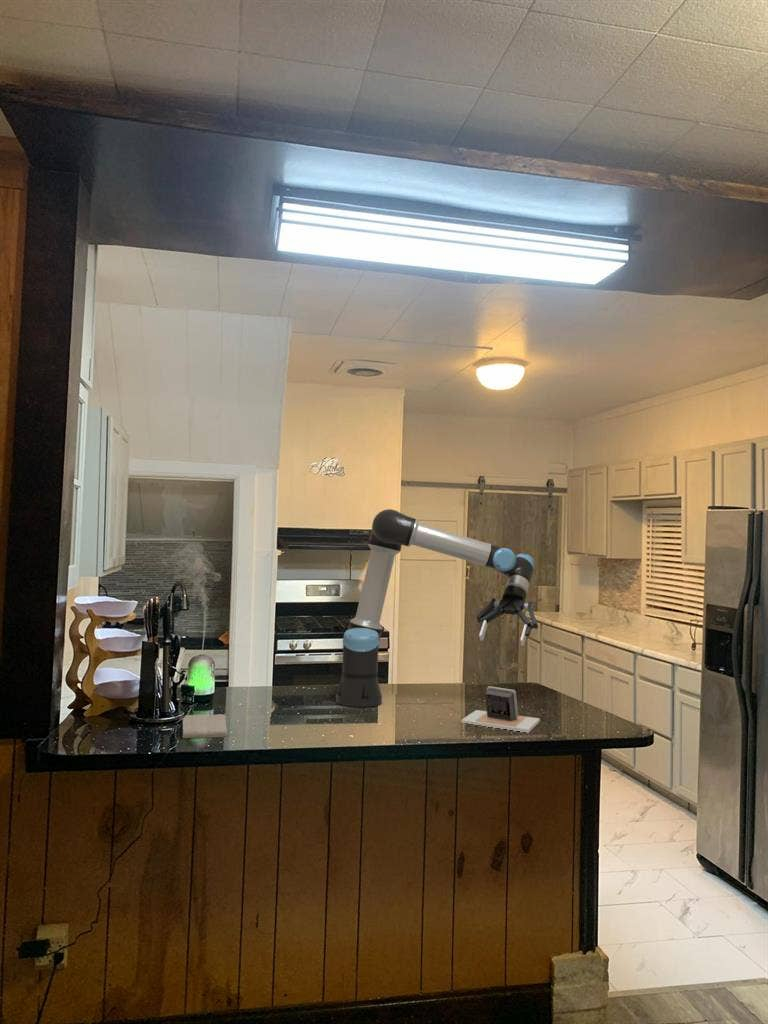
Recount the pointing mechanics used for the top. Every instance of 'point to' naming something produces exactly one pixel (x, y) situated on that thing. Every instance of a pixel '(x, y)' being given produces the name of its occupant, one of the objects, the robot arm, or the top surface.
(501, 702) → the electrical switch
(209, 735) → the washcloth
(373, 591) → the robot arm
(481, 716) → the mounting plate
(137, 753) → the top surface
